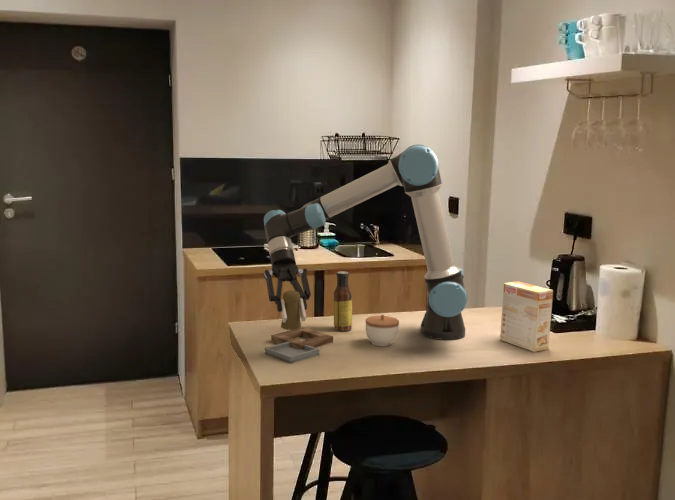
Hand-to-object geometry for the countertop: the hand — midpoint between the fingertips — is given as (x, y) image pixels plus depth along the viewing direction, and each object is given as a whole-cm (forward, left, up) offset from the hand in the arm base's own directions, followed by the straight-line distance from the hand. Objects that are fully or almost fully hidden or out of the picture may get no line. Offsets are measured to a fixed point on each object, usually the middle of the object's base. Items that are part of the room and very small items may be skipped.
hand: (294, 319), depth 208 cm
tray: (+3, -2, -12) cm, 12 cm away
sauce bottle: (+11, -33, -12) cm, 37 cm away
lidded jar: (-8, -31, -12) cm, 34 cm away
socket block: (+10, -13, -12) cm, 20 cm away
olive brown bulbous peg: (+3, -2, -3) cm, 5 cm away
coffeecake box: (-40, -65, -12) cm, 77 cm away
